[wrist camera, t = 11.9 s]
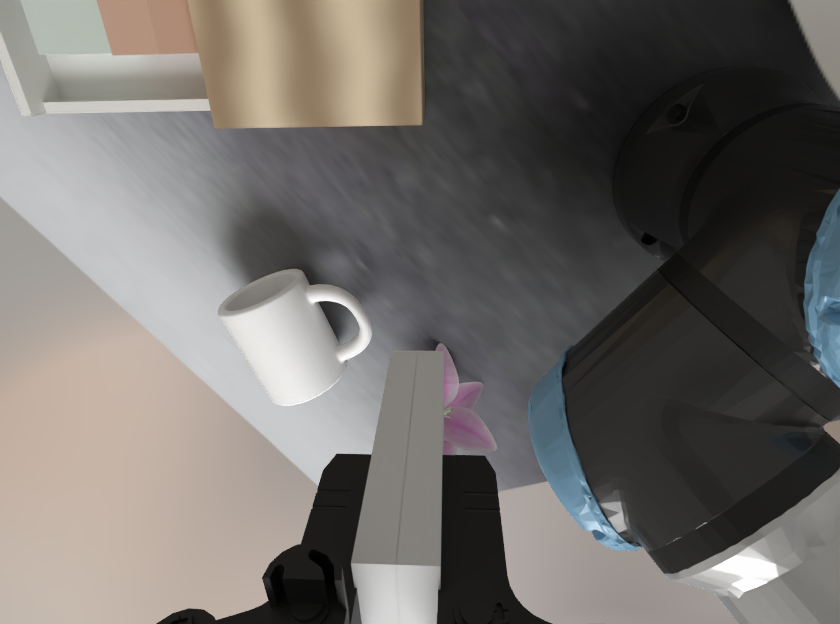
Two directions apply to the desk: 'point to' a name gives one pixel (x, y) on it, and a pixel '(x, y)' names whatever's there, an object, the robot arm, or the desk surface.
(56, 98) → the tray
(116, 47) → the tile terracotta
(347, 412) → the desk surface
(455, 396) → the lily
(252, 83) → the oak board
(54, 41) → the tile grey
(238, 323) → the mug
